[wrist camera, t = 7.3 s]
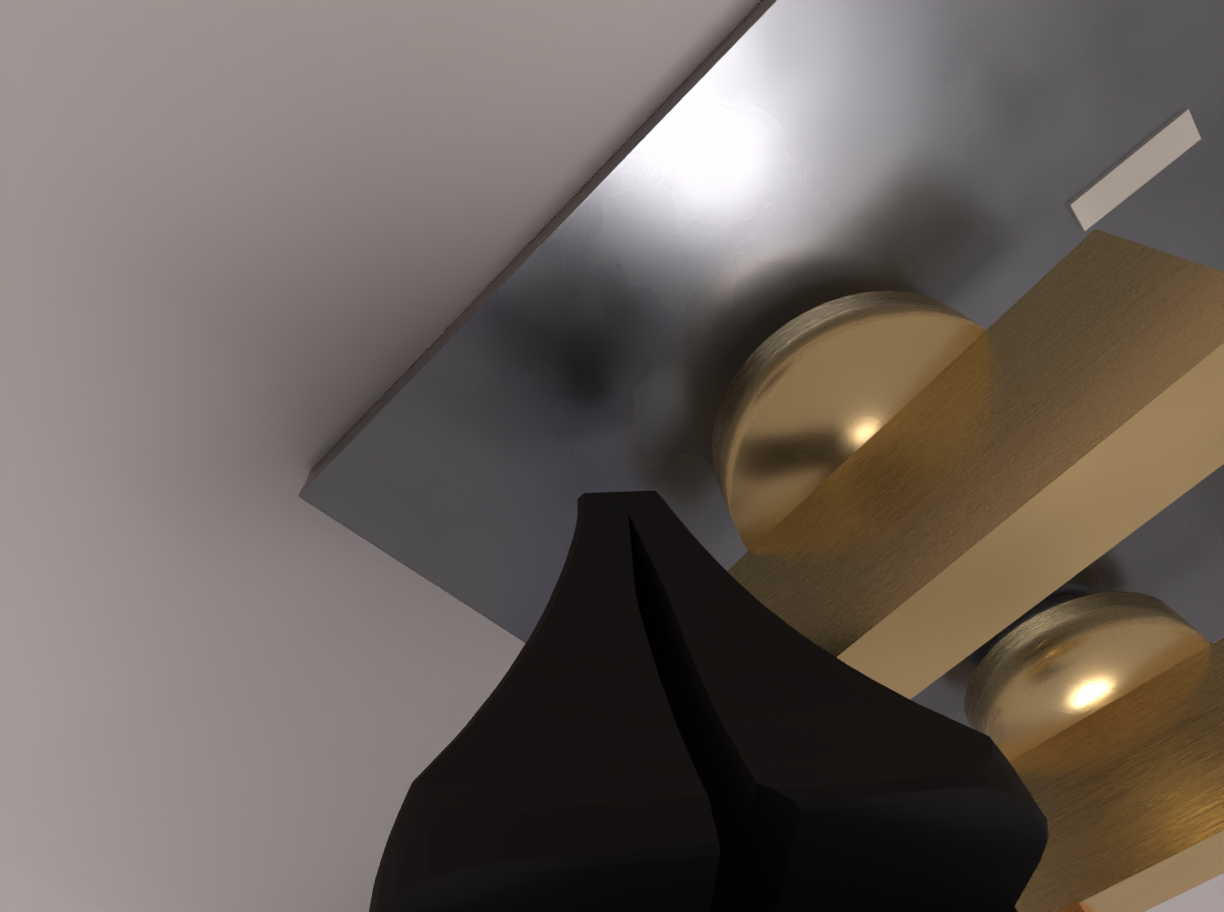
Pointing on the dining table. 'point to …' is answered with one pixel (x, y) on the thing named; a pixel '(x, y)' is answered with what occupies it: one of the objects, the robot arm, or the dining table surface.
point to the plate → (797, 275)
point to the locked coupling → (1111, 748)
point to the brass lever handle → (966, 451)
